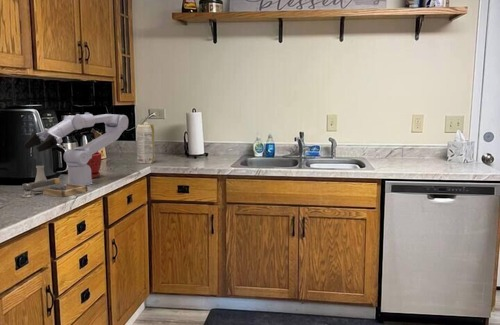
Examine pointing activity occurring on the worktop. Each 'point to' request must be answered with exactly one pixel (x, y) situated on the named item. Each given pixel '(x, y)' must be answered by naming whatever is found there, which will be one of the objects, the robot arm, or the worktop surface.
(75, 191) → the bay
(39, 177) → the flask
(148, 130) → the juice carton
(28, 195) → the lever post
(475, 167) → the worktop surface
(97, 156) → the plant pot
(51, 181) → the lever
